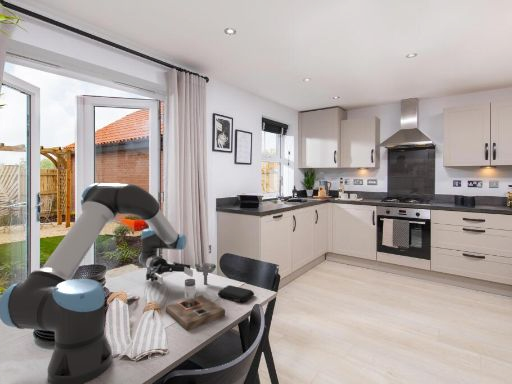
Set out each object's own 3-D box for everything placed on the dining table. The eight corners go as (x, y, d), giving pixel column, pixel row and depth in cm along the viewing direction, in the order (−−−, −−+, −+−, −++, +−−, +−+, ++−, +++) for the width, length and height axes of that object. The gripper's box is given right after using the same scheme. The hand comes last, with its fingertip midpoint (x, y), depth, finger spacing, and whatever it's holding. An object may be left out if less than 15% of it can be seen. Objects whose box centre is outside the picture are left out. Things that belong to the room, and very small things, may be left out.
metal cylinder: (187, 313, 110) (187, 283, 109) (182, 309, 113) (182, 280, 112) (197, 310, 113) (197, 280, 112) (191, 306, 116) (192, 277, 115)
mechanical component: (196, 281, 142) (196, 262, 142) (216, 283, 140) (216, 263, 140) (194, 284, 140) (194, 264, 139) (214, 286, 138) (214, 265, 137)
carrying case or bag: (214, 298, 125) (243, 306, 118) (214, 291, 125) (243, 298, 118) (228, 289, 134) (255, 296, 127) (228, 283, 134) (255, 290, 127)
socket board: (186, 330, 98) (186, 322, 98) (165, 312, 111) (165, 305, 111) (225, 315, 109) (225, 308, 109) (201, 300, 122) (201, 294, 121)
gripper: (181, 267, 144) (203, 279, 128) (129, 278, 128) (147, 293, 112) (181, 252, 144) (203, 262, 128) (129, 261, 128) (147, 274, 112)
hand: (177, 277), depth 120 cm, fingers open, 13 cm apart
